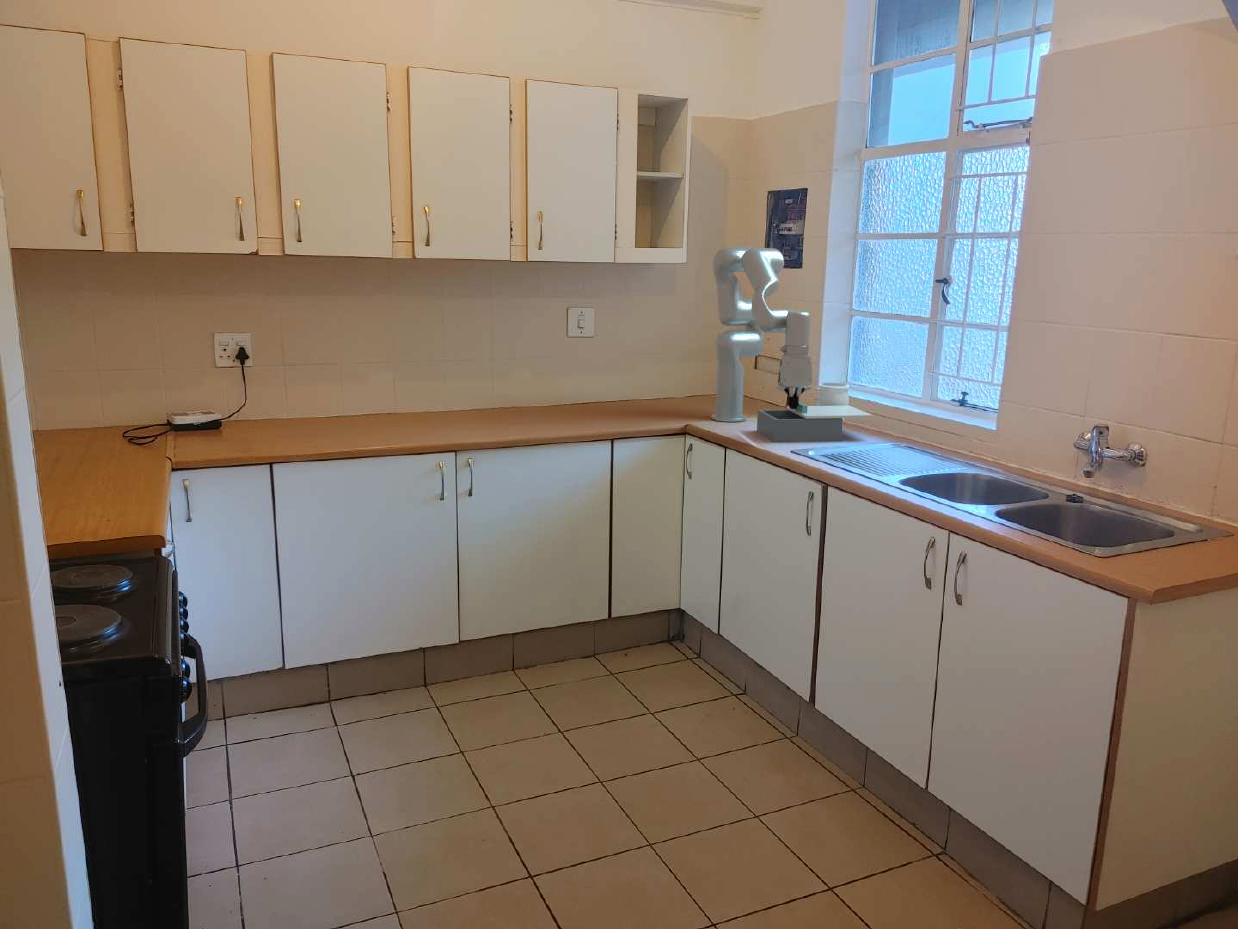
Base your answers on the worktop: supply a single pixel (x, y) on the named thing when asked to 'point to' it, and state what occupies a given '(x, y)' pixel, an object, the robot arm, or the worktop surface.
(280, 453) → the worktop surface
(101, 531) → the worktop surface
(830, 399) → the jar
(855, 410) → the lid
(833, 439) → the storage box
